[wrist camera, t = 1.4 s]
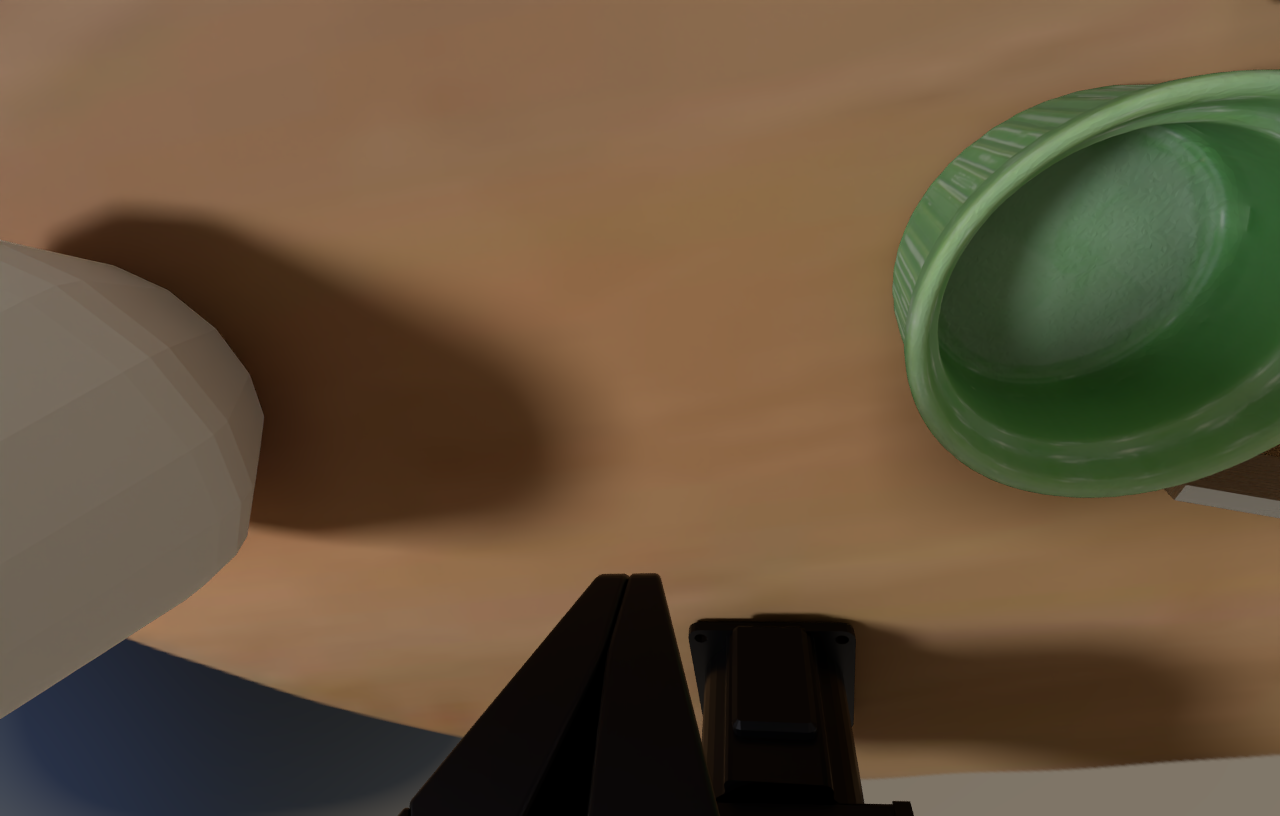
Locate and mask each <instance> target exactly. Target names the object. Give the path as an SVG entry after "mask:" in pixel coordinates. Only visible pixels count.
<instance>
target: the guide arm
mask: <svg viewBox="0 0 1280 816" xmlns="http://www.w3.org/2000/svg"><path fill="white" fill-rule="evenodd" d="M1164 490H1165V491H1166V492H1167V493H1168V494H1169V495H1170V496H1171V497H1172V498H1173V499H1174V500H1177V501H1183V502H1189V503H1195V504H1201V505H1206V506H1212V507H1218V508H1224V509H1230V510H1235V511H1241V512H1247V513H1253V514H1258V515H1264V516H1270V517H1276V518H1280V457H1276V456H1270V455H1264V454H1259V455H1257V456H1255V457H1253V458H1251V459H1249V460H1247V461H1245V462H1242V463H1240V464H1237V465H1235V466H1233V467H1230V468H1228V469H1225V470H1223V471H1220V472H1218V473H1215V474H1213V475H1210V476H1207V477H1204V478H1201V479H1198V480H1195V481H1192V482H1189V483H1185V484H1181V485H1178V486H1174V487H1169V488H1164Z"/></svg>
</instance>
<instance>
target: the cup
mask: <svg viewBox="0 0 1280 816" xmlns="http://www.w3.org/2000/svg"><path fill="white" fill-rule="evenodd" d="M263 423H264V414H263V411H262V408H261V406H260V403H259V400H258V397H257V394H256V391H255V388H254V385H253V382H252V379H251V376H250V374H249V372H248V371H247V370H246V368H245V367H244V366H243V364H242V363H241V362H240V360H239V359H238V358H237V356H236V355H235V354H234V352H233V351H232V350H231V348H230V347H229V346H228V344H227V343H226V341H225V340H224V339H223V337H222V336H221V335H220V333H219V332H218V331H217V329H216V328H214V327H213V326H212V325H211V324H209V323H208V322H207V321H206V320H205V319H203V318H202V317H201V316H200V315H198V314H197V313H196V312H195V311H193V310H192V309H191V308H190V307H188V306H187V305H186V304H185V303H184V302H182V301H181V300H180V299H179V298H177V297H176V296H175V295H174V294H172V293H171V292H170V291H169V290H167V289H165V288H163V287H160V286H158V285H156V284H154V283H152V282H149V281H147V280H145V279H143V278H141V277H138V276H136V275H134V274H132V273H130V272H127V271H125V270H123V269H121V268H119V267H116V266H114V265H110V264H105V263H101V262H96V261H92V260H87V259H83V258H78V257H74V256H69V255H65V254H60V253H56V252H51V251H47V250H43V249H38V248H34V247H29V246H25V245H20V244H16V243H11V242H7V241H2V240H0V719H1V718H2V717H4V716H6V715H7V714H9V713H10V712H12V711H14V710H15V709H17V708H18V707H20V706H21V705H23V704H24V703H26V702H28V701H29V700H30V699H32V698H34V697H35V696H37V695H38V694H40V693H42V692H43V691H45V690H46V689H48V688H49V687H51V686H53V685H54V684H55V683H57V682H59V681H60V680H62V679H63V678H65V677H66V676H68V675H70V674H71V673H73V672H74V671H76V670H77V669H79V668H81V667H82V666H84V665H85V664H87V663H88V662H90V661H91V660H93V659H95V658H96V657H98V656H99V655H101V654H102V653H103V652H105V651H107V650H108V649H110V648H112V647H113V646H114V645H116V644H118V643H119V642H121V641H122V640H124V639H126V638H127V637H129V636H130V635H132V634H133V633H135V632H137V631H138V630H140V629H141V628H143V627H144V626H146V625H147V624H149V623H151V622H152V621H154V620H155V619H157V618H158V617H160V616H162V615H163V614H165V613H166V612H168V611H169V610H171V609H172V608H174V607H176V606H177V605H179V604H180V603H182V602H183V601H185V600H186V599H187V598H189V597H190V596H191V595H192V594H194V593H195V592H196V591H198V590H199V589H200V588H201V587H203V586H204V585H205V584H206V583H207V582H208V581H209V580H210V579H211V578H212V577H213V576H214V575H216V574H217V573H218V572H219V571H220V570H221V569H222V568H223V567H224V566H225V565H226V564H227V563H228V562H229V561H230V560H231V559H232V558H233V557H234V556H235V555H236V554H237V553H238V551H239V549H240V547H241V546H242V544H243V542H244V541H245V539H246V537H247V534H248V528H249V521H250V514H251V508H252V501H253V494H254V488H255V481H256V474H257V468H258V461H259V455H260V447H261V439H262V431H263Z"/></svg>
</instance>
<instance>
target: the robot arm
mask: <svg viewBox="0 0 1280 816" xmlns="http://www.w3.org/2000/svg"><path fill="white" fill-rule="evenodd" d="M689 644H690V649H691V654H692V660H693V665H694V671H695V676H696V682H697V687H698V693H699V698H700V703H701V709H702V714H703V728H702V742H701V738H700V734H699V730H698V726H697V722H696V718H695V714H694V710H693V706H692V701H691V697H690V693H689V689H688V685H687V681H686V677H685V673H684V669H683V665H682V661H681V657H680V653H679V649H678V645H677V641H676V637H675V633H674V629H673V625H672V621H671V617H670V613H669V609H668V605H667V601H666V597H665V593H664V589H663V585H662V581H661V578H660V576H659V575H658V574H656V573H640V574H632V575H631V576H630V577H629V576H628V575H627V574H601V575H599V576H598V577H596V578H595V580H594V581H593V582H592V583H591V584H590V586H589V587H588V588H587V589H586V590H585V592H584V593H583V594H582V595H581V596H580V598H579V599H578V600H577V601H576V602H575V604H574V605H573V606H572V607H571V608H570V610H569V611H568V612H567V613H566V614H565V616H564V617H563V618H562V619H561V620H560V622H559V623H558V624H557V625H556V626H555V628H554V629H553V630H552V631H551V632H550V634H549V635H548V636H547V637H546V638H545V640H544V641H543V642H542V643H541V645H540V646H539V647H538V648H537V649H536V651H535V652H534V653H533V654H532V655H531V657H530V658H529V659H528V660H527V661H526V663H525V664H524V665H523V666H522V667H521V669H520V670H519V671H518V672H517V673H516V675H515V676H514V677H513V678H512V679H511V681H510V682H509V683H508V684H507V685H506V687H505V688H504V689H503V690H502V691H501V693H500V694H499V695H498V696H497V697H496V699H495V700H494V701H493V702H492V703H491V705H490V706H489V707H488V708H487V709H486V711H485V712H484V713H483V714H482V716H481V717H480V718H479V719H478V720H477V722H476V723H475V724H474V725H473V726H472V728H471V729H470V730H469V731H468V732H467V734H466V735H465V736H464V737H463V738H462V740H461V741H460V742H459V743H458V744H457V746H456V747H455V748H454V749H453V750H452V752H451V753H450V754H449V755H448V756H447V758H446V759H445V760H444V761H443V762H442V764H441V765H440V766H439V767H438V768H437V770H436V771H435V772H434V773H433V775H432V776H431V777H430V778H429V779H428V780H427V782H426V783H425V784H424V785H423V787H422V788H421V789H420V790H419V791H418V793H417V794H416V795H415V796H414V797H413V799H412V800H411V802H410V809H409V808H405V809H403V810H402V811H401V813H400V814H399V815H398V816H914V815H913V811H912V807H911V803H910V802H908V801H893V802H892V803H893V804H864V799H863V792H862V786H861V780H860V774H859V768H858V762H857V756H856V750H855V744H854V738H853V732H852V726H853V720H854V683H855V647H856V639H855V634H854V630H853V628H852V627H851V626H850V625H848V624H846V623H786V622H697V623H694V624H692V625H691V626H690V628H689Z"/></svg>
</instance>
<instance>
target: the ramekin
mask: <svg viewBox="0 0 1280 816" xmlns="http://www.w3.org/2000/svg"><path fill="white" fill-rule="evenodd" d="M893 298H894V311H895V315H896V319H897V322H898V326H899V331H900V334H901V337H902V340H903V343H904V354H905V364H906V372H907V378H908V382H909V386H910V389H911V393H912V396H913V399H914V402H915V404H916V406H917V409H918V411H919V413H920V415H921V417H922V419H923V420H924V422H925V424H926V425H927V427H928V428H929V430H930V431H931V433H932V434H933V435H934V436H935V438H936V439H937V440H938V441H939V442H940V443H941V444H942V446H943V447H944V448H945V449H946V450H948V451H949V452H950V453H951V454H952V455H953V456H955V457H956V458H957V459H958V460H959V461H961V462H962V463H963V464H965V465H966V466H968V467H969V468H970V469H972V470H974V471H976V472H978V473H980V474H982V475H983V476H985V477H987V478H989V479H991V480H994V481H996V482H999V483H1002V484H1005V485H1007V486H1010V487H1013V488H1017V489H1021V490H1025V491H1029V492H1034V493H1039V494H1045V495H1054V496H1064V497H1076V498H1095V497H1098V498H1099V497H1117V496H1123V495H1134V494H1140V493H1145V492H1151V491H1157V490H1160V489H1164V488H1169V487H1174V486H1178V485H1181V484H1185V483H1189V482H1192V481H1195V480H1198V479H1201V478H1204V477H1207V476H1210V475H1213V474H1215V473H1218V472H1220V471H1223V470H1225V469H1228V468H1230V467H1233V466H1235V465H1237V464H1240V463H1242V462H1245V461H1247V460H1249V459H1251V458H1253V457H1255V456H1257V455H1259V454H1261V453H1263V452H1265V451H1267V450H1269V449H1271V448H1273V447H1275V446H1277V445H1279V444H1280V70H1245V71H1231V72H1220V73H1212V74H1206V75H1200V76H1193V77H1188V78H1183V79H1178V80H1173V81H1168V82H1164V83H1160V84H1149V85H1113V86H1106V87H1100V88H1095V89H1089V90H1083V91H1077V92H1074V93H1071V94H1068V95H1065V96H1062V97H1058V98H1055V99H1051V100H1048V101H1046V102H1043V103H1041V104H1038V105H1036V106H1034V107H1032V108H1029V109H1027V110H1025V111H1023V112H1021V113H1018V114H1016V115H1015V116H1013V117H1012V118H1010V119H1009V120H1007V121H1005V122H1003V123H1001V124H999V125H998V126H996V127H994V128H993V129H991V130H990V131H988V132H987V133H986V134H985V135H983V136H982V137H981V138H980V139H978V140H977V141H976V142H974V143H973V144H971V145H970V146H969V147H967V148H966V149H965V150H964V151H963V152H962V153H961V154H959V155H958V156H957V157H956V158H955V159H954V160H953V161H952V162H951V163H950V164H949V165H948V166H947V167H946V168H945V170H944V171H943V172H942V173H941V174H940V175H939V176H938V177H937V178H936V180H935V181H934V182H933V183H932V184H931V186H930V187H929V188H928V190H927V192H926V193H925V195H924V196H923V198H922V199H921V201H920V202H919V204H918V205H917V207H916V208H915V210H914V212H913V214H912V216H911V218H910V220H909V222H908V224H907V226H906V229H905V231H904V234H903V237H902V239H901V242H900V245H899V248H898V252H897V257H896V262H895V266H894V274H893Z"/></svg>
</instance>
